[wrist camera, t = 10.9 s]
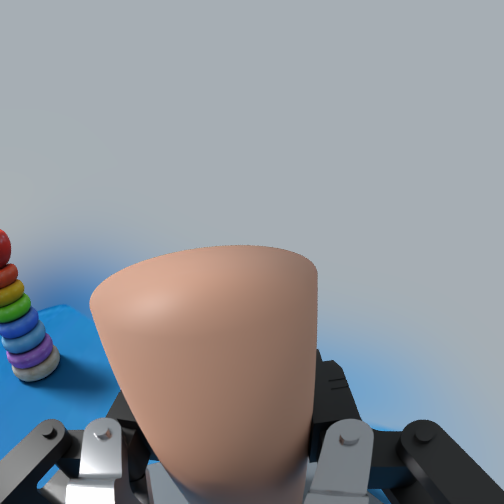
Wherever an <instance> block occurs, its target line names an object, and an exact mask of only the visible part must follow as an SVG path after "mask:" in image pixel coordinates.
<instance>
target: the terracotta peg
mask: <svg viewBox="0 0 504 504" xmlns="http://www.w3.org/2000/svg"><path fill="white" fill-rule="evenodd" d="M317 291H318V288H317V270H316V267H315V266H314V264H313V263H312V262H311V261H310V260H308V259H307V258H305V257H304V256H301V255H299V254H297V253H294V252H291V251H288V250H284V249H279V248H273V247H265V246H250V245H231V246H215V247H204V248H197V249H190V250H184V251H179V252H174V253H169V254H165V255H162V256H158V257H154V258H151V259H148V260H145V261H142V262H139V263H137V264H134V265H131V266H129V267H127V268H124V269H122V270H120V271H119V272H117V273H115V274H113V275H111V276H110V277H108V278H107V279H106V280H104V281H103V282H102V283H101V284H100V285H99V286H98V287H97V288H96V289H95V291H94V292H93V294H92V295H91V299H90V309H91V313H92V315H93V319H94V322H95V325H96V328H97V331H98V334H99V336H100V339H101V342H102V345H103V347H104V350H105V353H106V355H107V358H108V360H109V363H110V365H111V368H112V370H113V372H114V375H115V377H116V379H117V382H118V384H119V386H120V388H121V390H122V393H123V395H124V397H125V399H126V401H127V403H128V405H129V407H130V409H131V411H132V413H133V415H134V417H135V419H136V421H137V423H138V425H139V427H140V428H141V430H142V432H143V434H144V436H145V437H146V439H147V441H148V443H149V444H150V446H151V448H152V449H153V451H154V453H155V454H156V456H157V458H158V459H159V461H160V462H161V464H162V466H163V467H164V469H165V470H166V472H167V473H168V475H169V476H170V478H171V479H172V481H173V482H174V483H175V485H176V486H177V488H178V489H179V490H180V492H181V493H182V495H183V496H184V497H185V499H186V500H187V501H188V503H189V504H302V501H303V494H304V487H305V480H306V473H307V465H308V453H309V444H310V434H311V423H312V413H313V402H314V388H315V370H316V347H317Z"/></svg>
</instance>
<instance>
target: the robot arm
mask: <svg viewBox="0 0 504 504" xmlns="http://www.w3.org/2000/svg"><path fill="white" fill-rule="evenodd" d="M120 391H121V392H119V394H118V395H117V397H116V399H115V401H114V403H113V405H112V406H111V408H110V410H109V412H108V414H107V416H106V417H105V418H99V419H96V420H94V421H92V422H91V423H89V424H88V425H87V427H86V428H85V430H67V429H66V428H65V427H64V425H63V424H62V423H61V422H60V421H58V420H55V419H48V420H45V421H43V422H41V423H40V424H39V425H37V426H36V427H35V428H34V429H33V430H32V431H31V432H30V433H29V434H28V435H27V436H26V437H25V438H24V439H23V440H22V441H21V442H20V443H19V444H18V445H16V446H15V447H14V448H13V449H12V450H11V451H10V452H9V453H8V454H7V455H6V456H5V457H4V458H3V459H2V460H1V461H0V504H154V500H153V494H152V487H151V480H150V472H149V469H148V468H147V464H148V461H149V460H156V461H159V459H158V458H157V456H156V454H155V453H154V451H153V449H152V448H151V446H150V444H149V443H148V441H147V439H146V437H145V436H144V434H143V432H142V430H141V428H140V427H139V425H138V423H137V421H136V419H135V417H134V415H133V413H132V411H131V409H130V407H129V405H128V403H127V401H126V399H125V397H124V395H123V393H122V390H120ZM308 457H309V463H313V462H317V468H316V471H315V474H314V478H313V481H312V484H311V487H310V490H309V491H308V493H307V496H306V498H305V501H304V504H368V502H369V497H368V495H367V489H382V491H383V492H384V494H385V495H386V496H387V498H388V499H389V501H390V502H391V504H504V491H503V490H502V489H501V488H500V487H499V486H498V485H497V484H496V483H495V482H494V481H493V480H492V478H490V476H489V475H487V473H485V471H484V470H483V469H482V468H481V467H480V466H479V465H478V464H477V463H476V462H475V461H474V460H473V459H472V458H471V457H470V456H469V455H468V454H467V453H466V452H465V451H464V450H463V449H462V448H461V447H460V446H459V445H458V444H457V443H456V442H455V441H454V440H453V439H452V438H451V437H450V436H449V435H448V434H447V433H446V432H445V431H444V430H443V429H442V428H441V427H440V426H439V425H438V424H436V423H435V422H432V421H429V420H417V421H413V422H411V423H410V424H408V425H407V426H406V427H405V428H404V429H403V431H378V430H375V429H372V428H371V427H370V426H369V425H368V424H367V423H365V422H363V421H362V420H361V418H360V415H359V412H358V410H357V407H356V404H355V401H354V399H353V396H352V394H351V391H350V388H349V385H348V383H347V380H346V377H345V375H344V372H343V369H342V368H341V367H340V366H339V365H338V364H337V363H336V362H335V361H334V360H331V361H324V362H322V359H321V355H320V352H319V350H318V349H316V370H315V388H314V402H313V413H312V423H311V434H310V444H309V453H308ZM54 464H55V465H56V466H57V467H58V468H59V470H58V471H57V473H56V474H55V475H54V476H53V477H52V478H51V479H50V480H49V481H48V483H47V484H46V485H45V486H44V487H43V488H41V489H37V483H38V482H39V481H40V479H41V478H42V477H43V476H44V475H45V474H46V473H47V472H48V471H49V470H50V469H51V467H52V466H53V465H54Z"/></svg>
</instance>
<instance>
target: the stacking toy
mask: <svg viewBox="0 0 504 504" xmlns="http://www.w3.org/2000/svg"><path fill="white" fill-rule="evenodd" d="M10 255H11V244H10V240H9V238H8V236H7V234H6V233H5V232H4V231H2V230H1V229H0V335H1V336H2V344H3V346H4V348H5V349H6V350H7V358H8V360H9V362H10V363H11V364H12V369H13V372H14V374H15V375H16V376H17V377H18V378H19V379H21V380H23V381H36V380H40V379H42V378H45V377H46V376H48V375H49V374H51V373H52V372H53V371H54V370H55V368H56V367H57V365H58V363H59V360H60V354H59V351H58V349H57V348H56V347H55V346H54V345H53V342H52V339H51V337H50V336H49V335H48V334H47V333H46V330H45V326H44V324H43V323H42V322H41V321H40V320H38V313H37V311H36V310H35V309H34V308H33V307H31V301H30V298H29V297H28V295H26V294H25V293H24V285H23V283H22V282H21V281H20V280H18V279H17V276H18V270H17V268H16V266H15V265H14V264H7V263H8V261H9V259H10Z"/></svg>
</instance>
